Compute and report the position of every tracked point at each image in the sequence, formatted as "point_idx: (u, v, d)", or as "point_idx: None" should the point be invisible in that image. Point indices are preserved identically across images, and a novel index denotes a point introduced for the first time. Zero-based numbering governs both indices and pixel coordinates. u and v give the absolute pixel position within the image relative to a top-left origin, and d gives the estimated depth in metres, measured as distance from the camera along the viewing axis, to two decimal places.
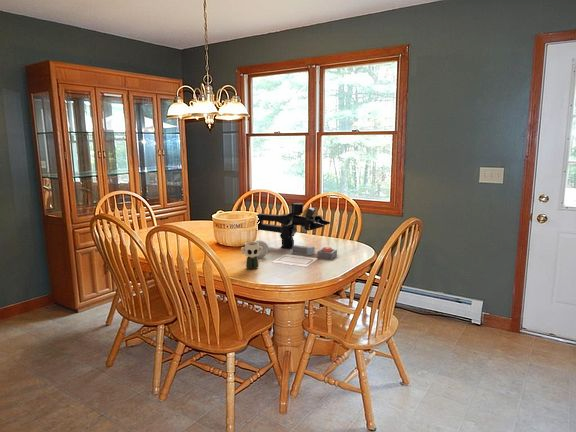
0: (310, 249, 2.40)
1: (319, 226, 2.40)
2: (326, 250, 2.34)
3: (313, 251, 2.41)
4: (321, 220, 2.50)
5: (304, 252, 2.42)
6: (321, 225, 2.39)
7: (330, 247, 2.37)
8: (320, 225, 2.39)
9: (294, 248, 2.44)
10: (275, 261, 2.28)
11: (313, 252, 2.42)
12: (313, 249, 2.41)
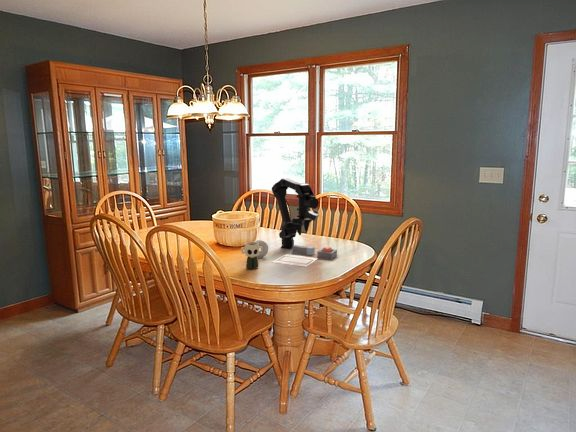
0: (310, 249, 2.40)
1: (298, 230, 2.37)
2: (326, 250, 2.34)
3: (313, 251, 2.41)
4: (308, 222, 2.45)
5: (304, 252, 2.42)
6: (299, 233, 2.37)
7: (330, 247, 2.37)
8: (299, 232, 2.37)
9: (294, 248, 2.44)
10: (275, 261, 2.28)
11: (313, 252, 2.42)
12: (313, 249, 2.41)
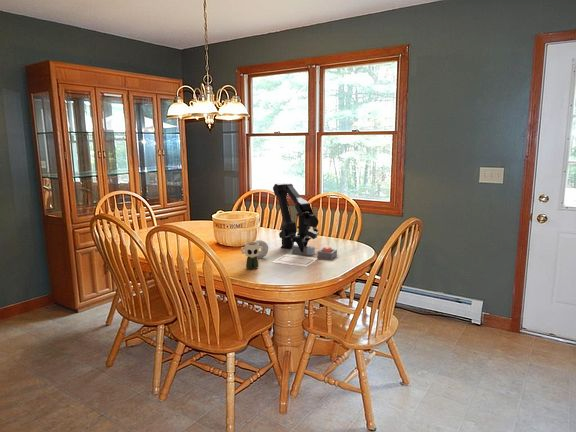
0: (310, 249, 2.40)
1: (300, 247, 2.41)
2: (326, 250, 2.34)
3: (313, 251, 2.41)
4: (306, 241, 2.45)
5: (304, 252, 2.42)
6: (301, 249, 2.42)
7: (330, 247, 2.37)
8: (301, 249, 2.41)
9: (294, 248, 2.44)
10: (275, 261, 2.28)
11: (313, 252, 2.42)
12: (313, 249, 2.41)
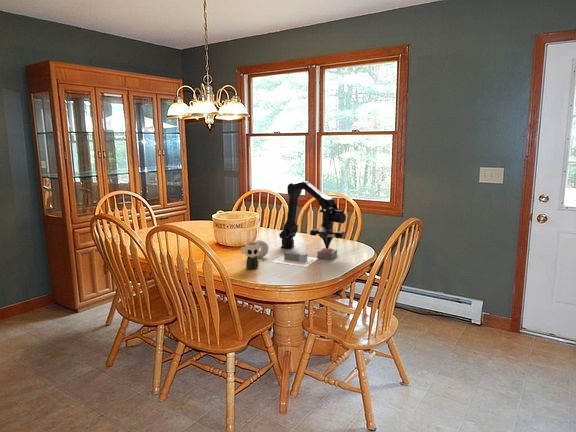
0: (303, 256, 2.26)
1: None
2: (326, 251, 2.34)
3: (305, 258, 2.27)
4: None
5: (296, 259, 2.28)
6: None
7: (330, 248, 2.37)
8: None
9: (286, 255, 2.30)
10: (275, 261, 2.28)
11: (306, 259, 2.28)
12: (306, 256, 2.27)
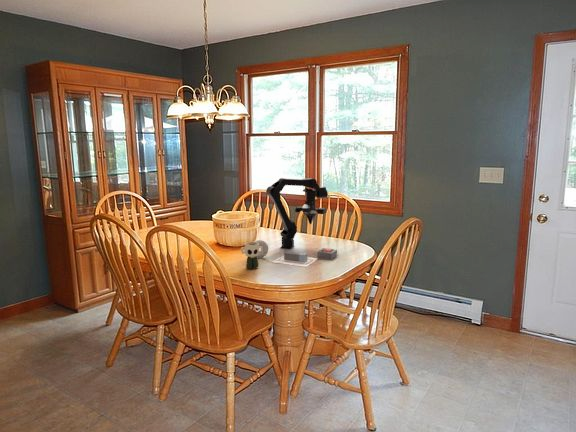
0: (303, 256, 2.26)
1: None
2: None
3: (305, 258, 2.27)
4: None
5: (296, 259, 2.28)
6: None
7: (330, 249, 2.37)
8: None
9: (286, 255, 2.30)
10: (275, 261, 2.28)
11: (306, 259, 2.28)
12: (306, 256, 2.27)
